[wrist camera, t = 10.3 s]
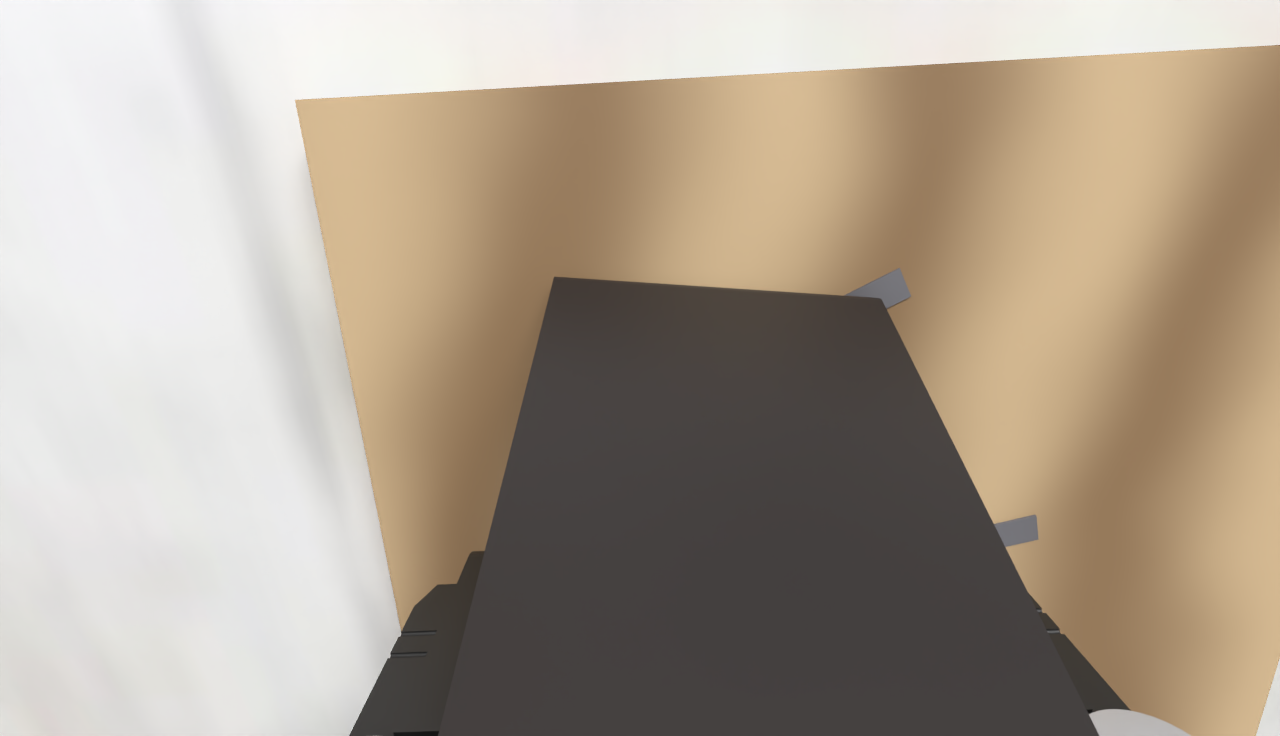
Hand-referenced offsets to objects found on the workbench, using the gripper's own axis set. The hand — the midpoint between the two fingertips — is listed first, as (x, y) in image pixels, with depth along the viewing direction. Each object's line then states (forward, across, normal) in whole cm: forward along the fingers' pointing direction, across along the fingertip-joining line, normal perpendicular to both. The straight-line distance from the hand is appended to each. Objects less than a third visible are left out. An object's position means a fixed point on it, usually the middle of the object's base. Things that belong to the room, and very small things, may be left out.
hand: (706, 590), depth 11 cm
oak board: (+4, -3, 0) cm, 6 cm away
